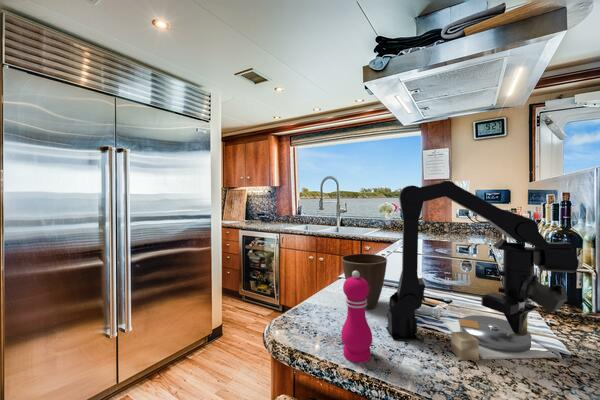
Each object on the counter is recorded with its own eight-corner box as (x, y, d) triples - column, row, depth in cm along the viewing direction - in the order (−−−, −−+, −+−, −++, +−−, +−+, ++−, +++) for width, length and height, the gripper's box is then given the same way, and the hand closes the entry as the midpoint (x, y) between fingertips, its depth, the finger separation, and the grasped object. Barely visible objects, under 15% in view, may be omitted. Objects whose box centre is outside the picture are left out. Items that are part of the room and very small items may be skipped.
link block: (461, 360, 63) (461, 340, 63) (451, 350, 67) (451, 331, 67) (478, 359, 63) (478, 340, 63) (467, 350, 67) (467, 331, 67)
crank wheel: (540, 358, 62) (540, 322, 62) (461, 343, 69) (461, 311, 68) (521, 328, 76) (521, 299, 75) (457, 318, 82) (457, 291, 82)
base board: (483, 359, 63) (483, 357, 63) (443, 324, 80) (443, 322, 80) (556, 357, 64) (556, 355, 64) (501, 322, 81) (501, 321, 81)
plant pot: (342, 313, 89) (341, 263, 89) (342, 296, 104) (341, 253, 103) (391, 315, 87) (390, 264, 86) (384, 297, 101) (383, 253, 101)
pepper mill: (338, 347, 69) (337, 267, 69) (366, 345, 70) (365, 266, 69) (345, 365, 62) (344, 276, 62) (377, 363, 63) (376, 274, 62)
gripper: (537, 283, 56) (535, 361, 56) (580, 272, 64) (579, 340, 64) (480, 270, 66) (479, 335, 66) (524, 262, 74) (523, 320, 74)
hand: (516, 333), depth 67 cm, fingers closed
